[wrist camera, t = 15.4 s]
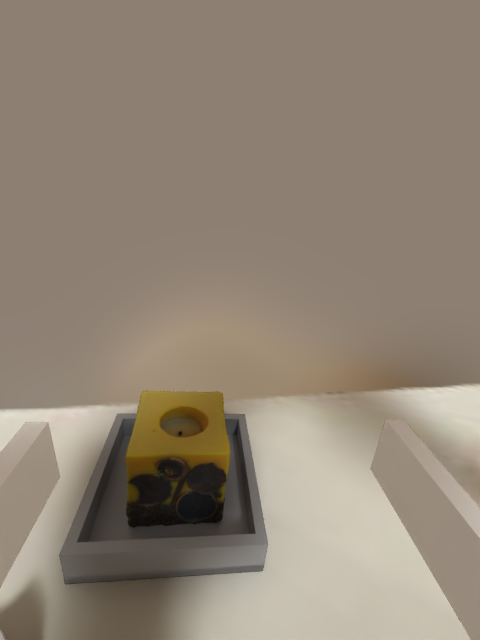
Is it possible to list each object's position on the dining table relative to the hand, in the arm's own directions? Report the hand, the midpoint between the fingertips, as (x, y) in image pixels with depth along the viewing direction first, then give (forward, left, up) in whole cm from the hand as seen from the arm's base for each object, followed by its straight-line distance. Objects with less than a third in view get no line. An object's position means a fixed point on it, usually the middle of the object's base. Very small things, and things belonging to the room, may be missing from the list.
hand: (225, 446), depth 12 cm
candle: (+3, -17, -23) cm, 29 cm away
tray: (+3, -17, -24) cm, 30 cm away
